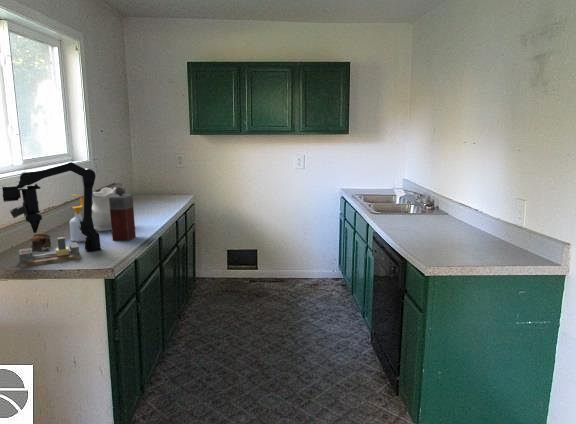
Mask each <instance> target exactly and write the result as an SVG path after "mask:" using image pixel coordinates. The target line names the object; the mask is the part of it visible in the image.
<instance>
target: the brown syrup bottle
mask: <svg viewBox="0 0 576 424" xmlns="http://www.w3.org/2000/svg"><path fill="white" fill-rule="evenodd" d="M116 188H117V189H116V192H115V195H114V196H111V197H109V204H110V216H111V227H112V230H111V237H112V241H113V242H118V241H119V242H122V241H123V242H130V241H131V240H133V239H135V238H136V236H137V234H136V225H135V224H136V223H135V210H134V201H133V200H134V199H133V198H134V197H133V194H125V193H126V189H125V187H123V186H118V187H116Z"/></svg>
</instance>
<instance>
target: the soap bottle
mask: <svg viewBox="0 0 576 424" xmlns="http://www.w3.org/2000/svg"><path fill="white" fill-rule="evenodd" d="M71 195H72V196H75V197H79V200H80V205H78V206H72V207H71V209H74V210H75V212H74V217H73V218H71V219H70V220H69V223H68V224H69V231H70V239H71V241H72V242H78V243H79V242H84V241H85V237H87V236H85V235H83V234H82V232H81V231H80V229H79V228H78V227H79V219H80V220H82V217H83V213H82V211H80V210H81V209H83V195H82V196H81V195H79V194H73V193H72V194H71Z"/></svg>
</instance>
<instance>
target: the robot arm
mask: <svg viewBox="0 0 576 424" xmlns="http://www.w3.org/2000/svg"><path fill="white" fill-rule="evenodd" d="M67 172H71V173H74V174H76V175H78V176H80V177H81V182H82V187H83V190H82V191H83V193H82V194H83V195H82V197H83V208H82V220H80V219H79V227H78V228H79V229H80V231H81V232H82V234H83V235H85V236H87V237H85V241H83V244H84V246H83V247H84V250H86V252H94V251H101V250H102V247H101V237H100V233H99V231H97V230H95V229H96V228H95V226H94V225H93V220H92V205H93V200H92V191H93V188H94V186H95V185H94V184H95V180H96V172H95V171H94V170H93V169H92V168H89V167H88V168H87V167H86V168H85V167H82V166H80V165H78V164H76V163H74V162H73V161H67V162H65V163H62V164H59V165H55V166H51V167H47V168H43V169H39V170H38V169H37V170H27V171H23V172H21V173H20V176H19V181H18V182H17V183H16V185H11V186H9V185H8V186H6V185H3V186H2V198H3V202H4V203H7V202H15V201H16V202H18V201H19V200H20V199H21V198H22V204H21V205H20V206H17V207H15V208H12V209H11V210H9V213H10V214H11V216H12V217H13V219H16V218H17V217H19V216H22V215H24V218H25V222H28V223H29V224H30V227H31V229H32V233H33V234H38V233H37V232H38V229H39V226H40V223H41V221H42V220H43V217H42V216H43V215H42V214H41V213H40V207H39V201H38V200H39V199H38V194H37V193H38V191H37V190H40V189H42V187H41V186H40V185H39V184H37V182H39V181H41V180H43V179H45V178H46V179H47V178H49V177H52V176H56V175H60V174H64V173H67ZM32 184H33V185H32ZM21 195H22V197H21Z"/></svg>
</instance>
